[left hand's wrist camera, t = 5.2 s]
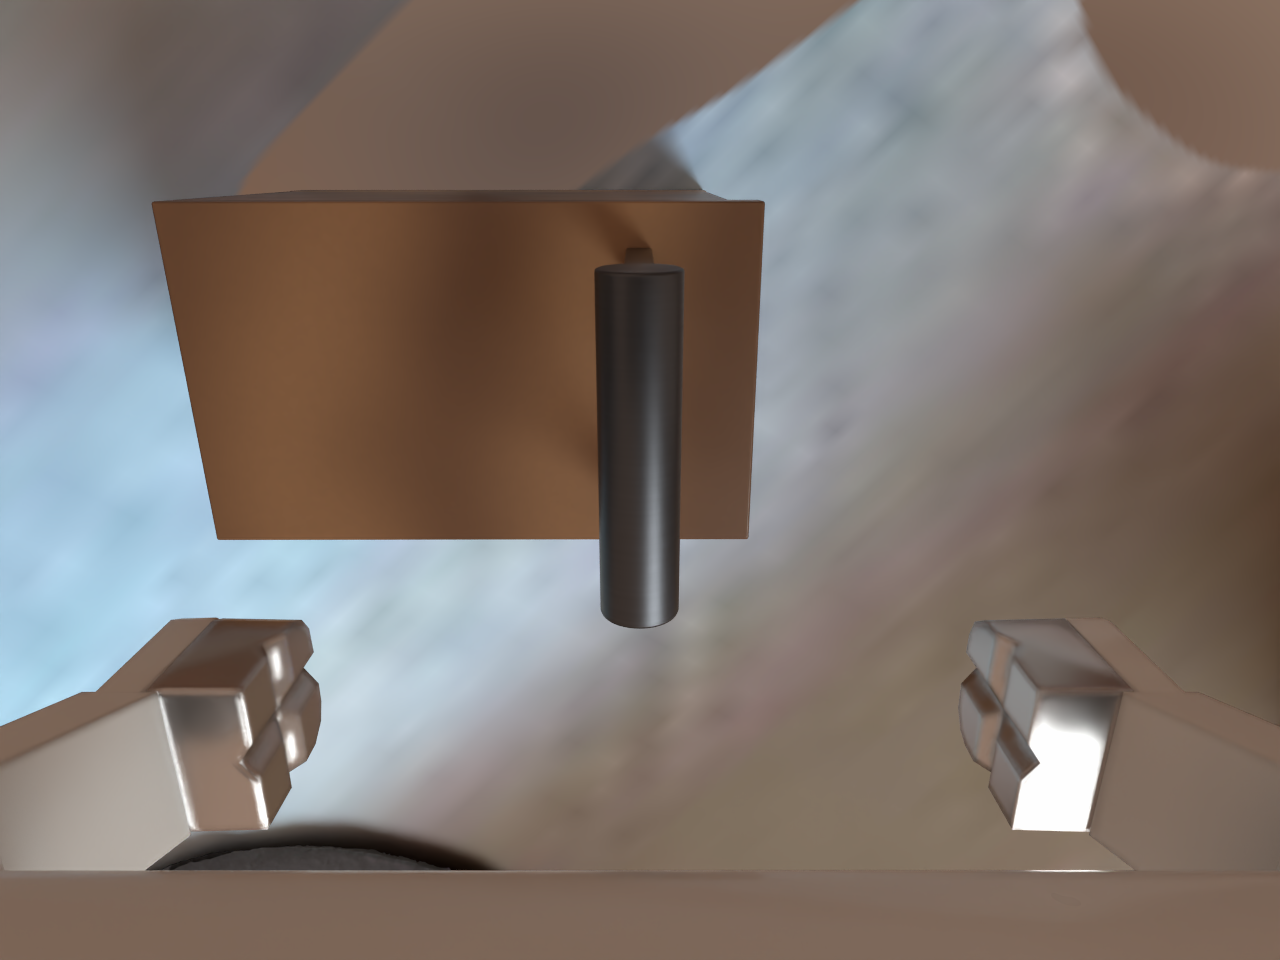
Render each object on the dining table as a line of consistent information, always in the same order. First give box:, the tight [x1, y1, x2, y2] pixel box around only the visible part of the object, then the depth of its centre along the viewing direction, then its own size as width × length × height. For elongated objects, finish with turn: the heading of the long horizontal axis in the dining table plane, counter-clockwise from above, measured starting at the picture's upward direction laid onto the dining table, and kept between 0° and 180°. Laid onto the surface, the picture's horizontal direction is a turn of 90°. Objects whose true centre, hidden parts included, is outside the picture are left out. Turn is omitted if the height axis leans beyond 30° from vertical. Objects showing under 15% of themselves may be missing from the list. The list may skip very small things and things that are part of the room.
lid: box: [152, 200, 765, 628], centre depth 21 cm, size 16×10×8 cm, turn 90°
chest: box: [182, 190, 726, 200], centre depth 29 cm, size 16×10×10 cm, turn 90°
